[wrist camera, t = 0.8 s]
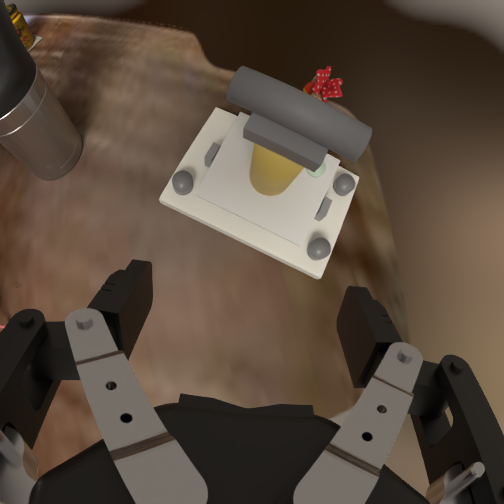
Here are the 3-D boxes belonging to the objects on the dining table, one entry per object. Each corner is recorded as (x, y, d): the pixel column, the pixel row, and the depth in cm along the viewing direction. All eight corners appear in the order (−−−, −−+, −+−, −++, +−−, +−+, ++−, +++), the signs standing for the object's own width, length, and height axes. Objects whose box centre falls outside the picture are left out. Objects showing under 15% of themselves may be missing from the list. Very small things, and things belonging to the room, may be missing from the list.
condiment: (17, 61, 42) (-5, 25, 30) (3, 52, 42) (-17, 20, 30) (43, 38, 43) (25, 0, 31) (27, 31, 43) (10, -4, 31)
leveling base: (160, 202, 41) (155, 192, 37) (215, 112, 44) (216, 96, 40) (317, 279, 42) (328, 276, 38) (355, 181, 45) (367, 170, 41)
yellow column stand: (196, 196, 39) (149, 140, 17) (240, 115, 39) (243, 2, 17) (299, 246, 39) (368, 247, 18) (337, 163, 39) (424, 91, 18)
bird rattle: (283, 104, 48) (280, 133, 43) (303, 46, 39) (303, 66, 34) (319, 114, 49) (321, 145, 44) (342, 59, 40) (350, 82, 35)
